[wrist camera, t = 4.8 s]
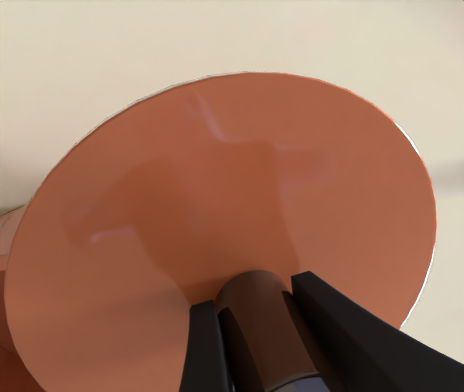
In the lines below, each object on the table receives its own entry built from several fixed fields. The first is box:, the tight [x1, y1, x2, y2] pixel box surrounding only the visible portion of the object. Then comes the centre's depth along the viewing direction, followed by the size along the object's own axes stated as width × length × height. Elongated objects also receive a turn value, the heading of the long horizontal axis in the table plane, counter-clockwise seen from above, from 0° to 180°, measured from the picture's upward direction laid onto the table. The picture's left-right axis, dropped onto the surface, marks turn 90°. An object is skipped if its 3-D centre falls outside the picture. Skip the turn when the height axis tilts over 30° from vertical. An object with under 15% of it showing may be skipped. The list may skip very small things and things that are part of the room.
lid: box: [4, 71, 437, 392], centre depth 9 cm, size 13×13×5 cm
